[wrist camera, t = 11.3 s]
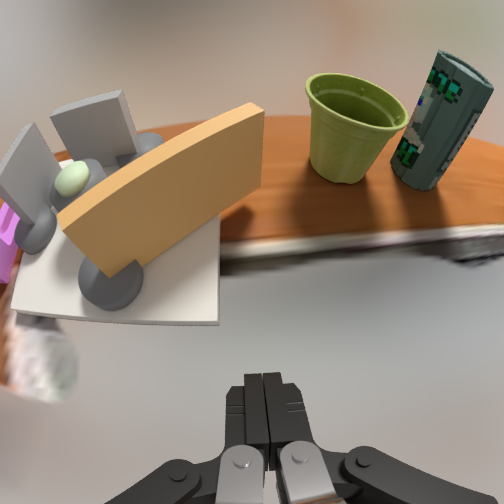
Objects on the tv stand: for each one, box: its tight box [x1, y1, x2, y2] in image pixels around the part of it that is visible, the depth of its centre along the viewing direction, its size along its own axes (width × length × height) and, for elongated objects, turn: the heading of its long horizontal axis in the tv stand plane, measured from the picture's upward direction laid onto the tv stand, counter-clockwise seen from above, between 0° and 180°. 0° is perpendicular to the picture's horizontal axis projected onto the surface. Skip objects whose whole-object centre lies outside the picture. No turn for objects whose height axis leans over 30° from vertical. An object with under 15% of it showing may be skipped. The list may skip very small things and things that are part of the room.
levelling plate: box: [0, 89, 221, 326], centre depth 19 cm, size 21×18×10 cm
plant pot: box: [305, 73, 409, 184], centre depth 23 cm, size 9×9×9 cm
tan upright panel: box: [57, 102, 264, 311], centre depth 17 cm, size 16×5×8 cm, turn 130°
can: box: [390, 50, 494, 191], centre depth 21 cm, size 6×6×15 cm
